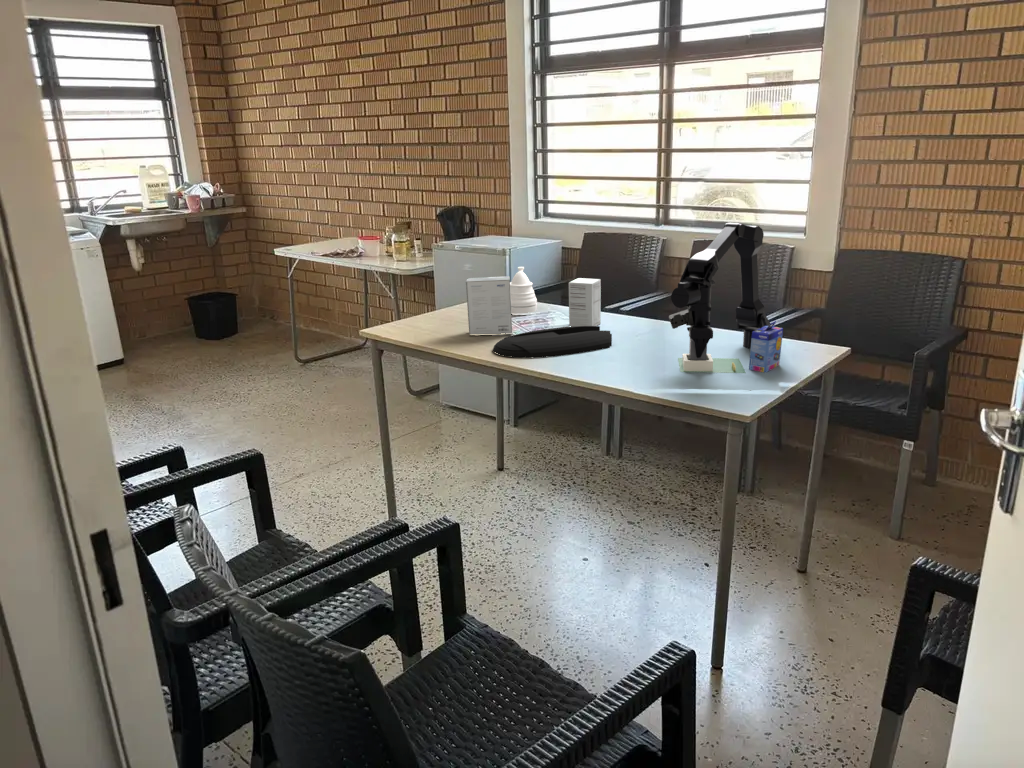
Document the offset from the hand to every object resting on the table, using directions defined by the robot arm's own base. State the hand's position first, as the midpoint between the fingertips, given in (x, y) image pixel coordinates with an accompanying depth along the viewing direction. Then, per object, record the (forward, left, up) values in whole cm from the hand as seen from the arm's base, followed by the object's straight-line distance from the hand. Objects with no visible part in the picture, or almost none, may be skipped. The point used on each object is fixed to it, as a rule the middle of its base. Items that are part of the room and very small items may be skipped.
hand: (697, 355), depth 218 cm
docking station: (-27, -45, -5) cm, 53 cm away
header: (0, 0, -4) cm, 4 cm away
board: (-2, +4, -5) cm, 7 cm away
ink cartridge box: (-1, +19, -5) cm, 20 cm away
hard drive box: (-44, -69, -5) cm, 82 cm away
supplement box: (-57, -36, -5) cm, 68 cm away
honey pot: (-80, -63, -5) cm, 102 cm away
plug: (0, 0, -1) cm, 1 cm away
